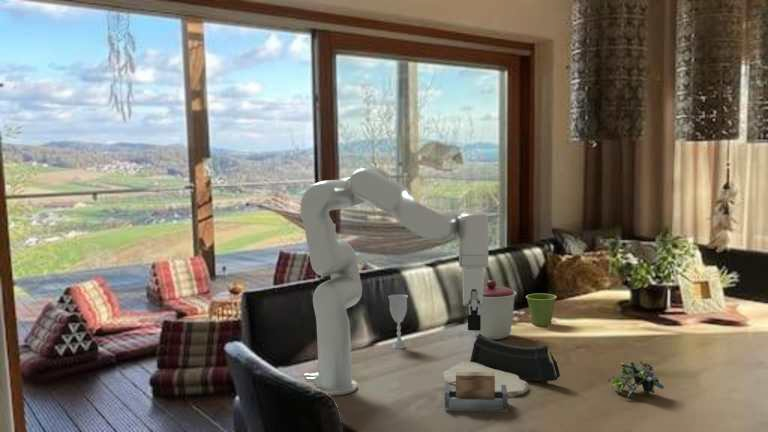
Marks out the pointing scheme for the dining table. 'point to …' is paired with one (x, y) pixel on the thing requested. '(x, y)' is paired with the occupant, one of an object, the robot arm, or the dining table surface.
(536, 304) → the plant pot
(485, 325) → the canister
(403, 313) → the chalice
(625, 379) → the green leafy plant
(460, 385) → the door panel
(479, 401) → the grey open holder
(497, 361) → the magazine
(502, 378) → the stone tablet
